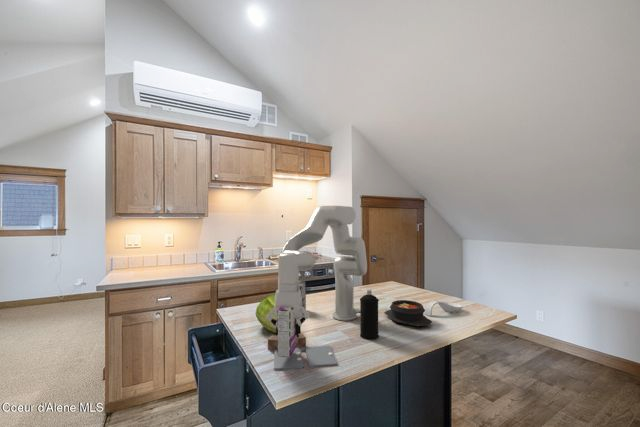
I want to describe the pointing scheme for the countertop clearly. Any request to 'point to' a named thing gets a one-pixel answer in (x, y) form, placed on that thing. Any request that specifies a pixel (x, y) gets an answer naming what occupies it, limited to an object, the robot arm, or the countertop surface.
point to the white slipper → (443, 307)
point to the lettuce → (266, 313)
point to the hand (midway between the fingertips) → (288, 335)
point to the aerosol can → (369, 316)
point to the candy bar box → (286, 332)
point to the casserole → (408, 313)
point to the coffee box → (303, 294)
